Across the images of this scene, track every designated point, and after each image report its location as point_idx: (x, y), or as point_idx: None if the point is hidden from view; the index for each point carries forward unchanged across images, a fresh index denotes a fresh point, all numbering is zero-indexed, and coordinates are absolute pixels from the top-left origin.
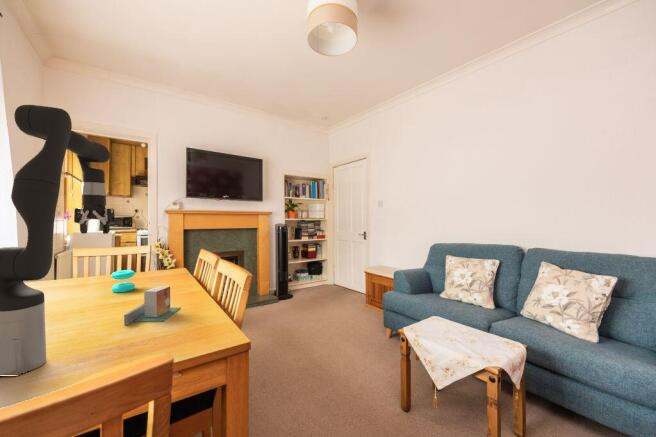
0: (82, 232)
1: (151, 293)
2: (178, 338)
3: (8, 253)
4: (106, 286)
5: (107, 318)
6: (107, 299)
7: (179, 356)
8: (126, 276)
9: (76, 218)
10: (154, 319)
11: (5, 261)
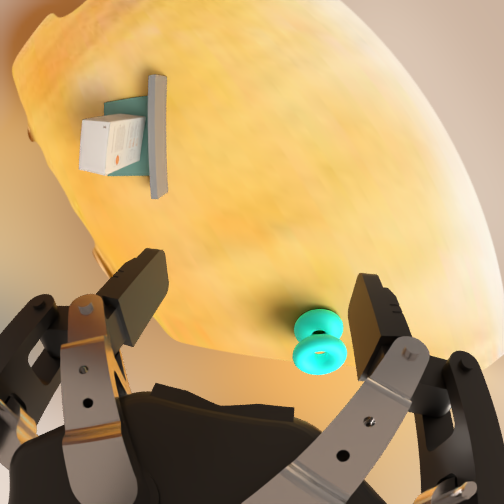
0: (365, 276)
1: (95, 119)
2: (64, 50)
3: None
4: None
5: (231, 115)
6: (321, 261)
7: (54, 14)
8: (302, 340)
9: (469, 397)
10: (121, 105)
11: None
